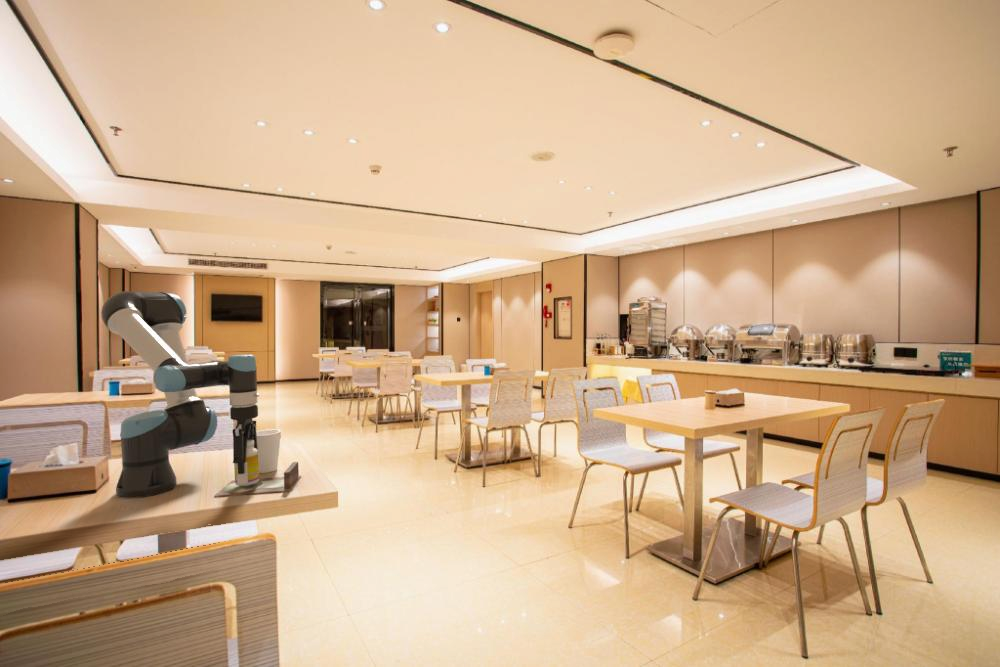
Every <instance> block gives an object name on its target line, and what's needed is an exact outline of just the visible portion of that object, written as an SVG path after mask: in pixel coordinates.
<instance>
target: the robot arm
mask: <svg viewBox="0 0 1000 667" xmlns="http://www.w3.org/2000/svg"><path fill="white" fill-rule="evenodd" d="M100 312H101V315H100V316H101V320H102V322H103V324H104V325H105V327H106V328H107V329H108V330H109V331H110V332H111V333H113V334H114V335H119V337H121V339H123V340H124V341H125V342H126V343H127V344H128V346H129V347H130V348H131V349H133V351H134V352H135V353H136V354H137V355H138V356H139V357H140V358H141V359H142V360H143V361H144V363H146V364H147V365H148V366H149V367H150V368H151V369H152V371H153V384H154V385H155V388H156V390H158V391H159V392H161V393H164V397H165V400H166V403H167V405H166V406H165V408H164V409H163V410H162V409H161V410H160V409H159V410H158V409H156V410H151V411H145V412H139V413H136V414H133V415H131V416H128V417H126V418H124V420H122V422H121V424H120V433H119V436H120V446H121V447H120V448H121V464H122V466H121V468H122V469H121V472H120V474H119V477H118V482H117V483H116V486H115V492H116V493H115V496H116V497H117V498H122V499H132V498H133V499H134V498H143V497H149V496H153V495H158V494H161V493H164V492H167V491H170V490H172V489H174V488H175V487H177V484H178V482H177V481H178V480H177V476H176V473H175V471H174V470H173V467H172V465H171V463H170V457H169V455H170V454H169V453H170V452H169V451H172V450H178V449H181V448H184V447H189V446H194V445H195V446H196V445H199V444H202V443H204V442H208V441H210V440H211V439H212V438H213V437H214V435H215V433H216V430H217V428H218V415H217V412H216V410H215V409H213V407H211V406H208V405H207V406H206V404H205V401H204V399H202V398H200V397H198V395H197V392H196V389H203V388H209V387H210V388H211V387H217V386H218V387H219V386H229V387H228V388H229V391H228V392H229V394H228V395H229V405H230V406H231V407H230V408H229V410H230V411H229V412H230V419H231V420H233V421H236V426H235V428H233V429H232V440H233V441H232V442H233V444H232V446H233V447H232V448H233V449H232V450H233V451H232V452H233V456H232V457H233V459H232V460H233V461H232V464H234V463H237V483H238V484H248V469H247V462H246V451H247V440H254V446H253V447H254V448H256V449H257V450H258V447H257V434H256V431H257V420H253V419H255V418H258V416H259V406H258V404H257V403H258V397H259V396H260V394H259V393H258V382H257V374H258V373H257V369H258V367H257V362H256V356H255V355H253V354H234V355H229V356H228V359H227V361H226V360H210V361H206V362H197V363H188V360H187V357H186V353H185V349H184V346H183V342H182V339H181V335H180V331H181V329H182V328H183V324H184V323H185V322H186V319H187V316H186V315H187V308H186V305H185V303H184V301H183V299H182V298H181V297H180V296H179V295H177V294H175V293H170V292H165V291H157V292H155V291H128V290H124V291H119V292H117V293H115V294H113V295H111V296H110V297H108V298H107V299H106V300H105V301H104V303H103V305H102V307H101V311H100Z"/></svg>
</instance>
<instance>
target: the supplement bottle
mask: <svg viewBox="0 0 1000 667" xmlns="http://www.w3.org/2000/svg"><path fill="white" fill-rule="evenodd" d="M253 446H254V440H247V451H246V462H247V469H248V484H238V483H237V463H233V468H234V480H235V484H236V485H238V486H247V485H252V484H255V483H257V482H258V481H259V479H260V473H259V463H258V450H257V449H256V448H254V447H253Z"/></svg>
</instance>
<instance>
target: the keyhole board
mask: <svg viewBox="0 0 1000 667" xmlns="http://www.w3.org/2000/svg"><path fill="white" fill-rule="evenodd" d="M301 478H302V475H300V474H299V461H293V462H292V463H291V464H290V465H289V466H288V467H287V468H286V469H285V471H284V472H283V476H280V477H278V476H277V477H264V478H263V477H262V478H259V481H258V482H257V483H255V484H252V485H247V486H238V485H236V484H235V479H234V480H230V482H229V483H228V484H226V485H225V486H224V487H222V489H220V490H219V491H218V492H217V493H215V494H214V496H213V498H221V497H233V496H235V497H236V496H245V495H246V496H249V495H261V494H263V495H264V494H273V493H289V492H291V491H292V490H293V489H294V487H295V486H296V485H297V483H298V482H299V481H300V479H301Z"/></svg>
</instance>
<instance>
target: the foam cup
mask: <svg viewBox="0 0 1000 667" xmlns="http://www.w3.org/2000/svg"><path fill="white" fill-rule="evenodd" d="M281 431H282V430H281V429H273V428H269V429H262V430H256V434H257V447H258V463H259V474H260V473H262V474H264V473H270V472H275V471H276V470H278V466H279V465H278V464H279V455H280V443H281V438H282V434H281V433H282V432H281Z"/></svg>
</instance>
